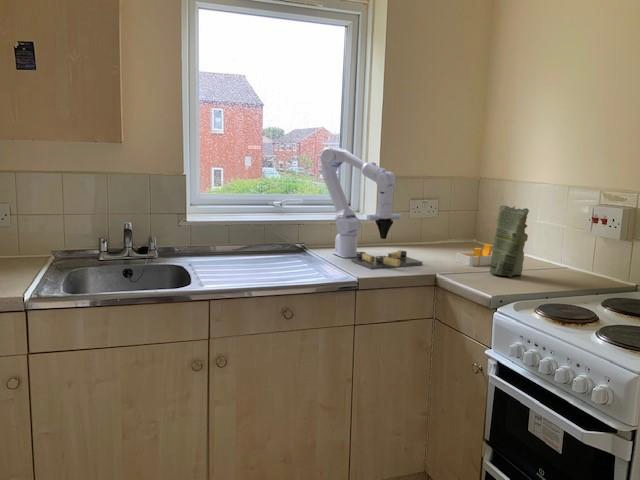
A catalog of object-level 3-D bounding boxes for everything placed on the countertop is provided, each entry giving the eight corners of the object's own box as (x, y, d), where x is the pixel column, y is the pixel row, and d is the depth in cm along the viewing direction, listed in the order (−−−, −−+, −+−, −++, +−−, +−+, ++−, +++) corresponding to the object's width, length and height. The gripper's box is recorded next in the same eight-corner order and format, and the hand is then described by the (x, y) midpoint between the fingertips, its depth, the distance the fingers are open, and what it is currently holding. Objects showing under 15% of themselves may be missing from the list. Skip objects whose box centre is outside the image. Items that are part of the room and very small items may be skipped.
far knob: (400, 255, 227) (400, 250, 226) (408, 257, 224) (408, 251, 224) (385, 258, 220) (386, 253, 219) (393, 260, 217) (393, 254, 217)
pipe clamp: (480, 259, 231) (481, 243, 230) (490, 260, 229) (492, 245, 227) (468, 263, 222) (469, 247, 221) (478, 265, 219) (480, 249, 218)
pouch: (491, 270, 211) (496, 203, 207) (525, 274, 207) (531, 205, 203) (487, 276, 201) (493, 205, 197) (523, 280, 197) (530, 208, 193)
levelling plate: (351, 261, 220) (351, 255, 219) (401, 258, 230) (401, 252, 229) (370, 268, 207) (370, 263, 207) (422, 264, 217) (422, 259, 217)
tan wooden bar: (354, 257, 220) (354, 252, 219) (362, 257, 221) (362, 251, 221) (367, 262, 211) (367, 256, 211) (376, 261, 213) (376, 256, 212)
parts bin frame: (455, 261, 225) (456, 253, 225) (488, 259, 233) (488, 250, 232) (470, 266, 218) (471, 257, 217) (503, 263, 225) (504, 254, 224)
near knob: (374, 262, 212) (374, 256, 211) (380, 261, 214) (380, 255, 214) (395, 266, 205) (395, 260, 205) (401, 265, 208) (401, 259, 207)
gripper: (374, 204, 212) (372, 241, 214) (406, 204, 218) (404, 239, 220) (364, 202, 218) (363, 238, 220) (396, 202, 224) (394, 236, 227)
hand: (383, 238), depth 221 cm, fingers closed
